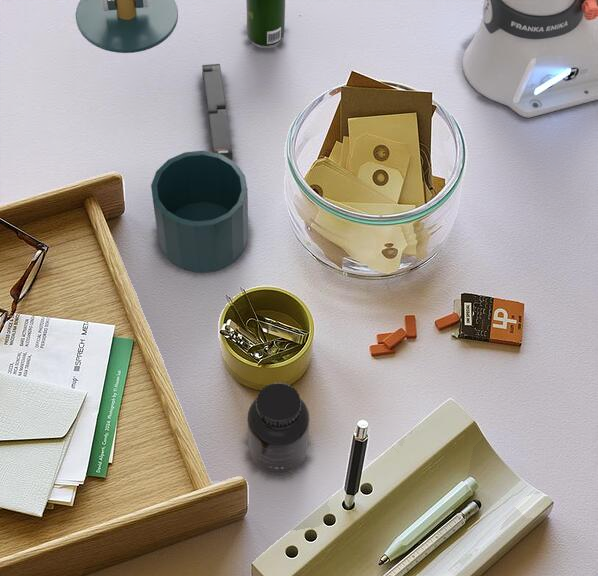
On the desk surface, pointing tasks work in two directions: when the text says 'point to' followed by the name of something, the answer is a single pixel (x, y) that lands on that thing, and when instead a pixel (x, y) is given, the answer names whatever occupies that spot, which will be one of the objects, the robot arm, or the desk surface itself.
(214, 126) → the grey notched bar
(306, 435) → the supplement bottle
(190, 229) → the tin
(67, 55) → the desk surface
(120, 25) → the lid
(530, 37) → the robot arm
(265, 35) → the beer can
